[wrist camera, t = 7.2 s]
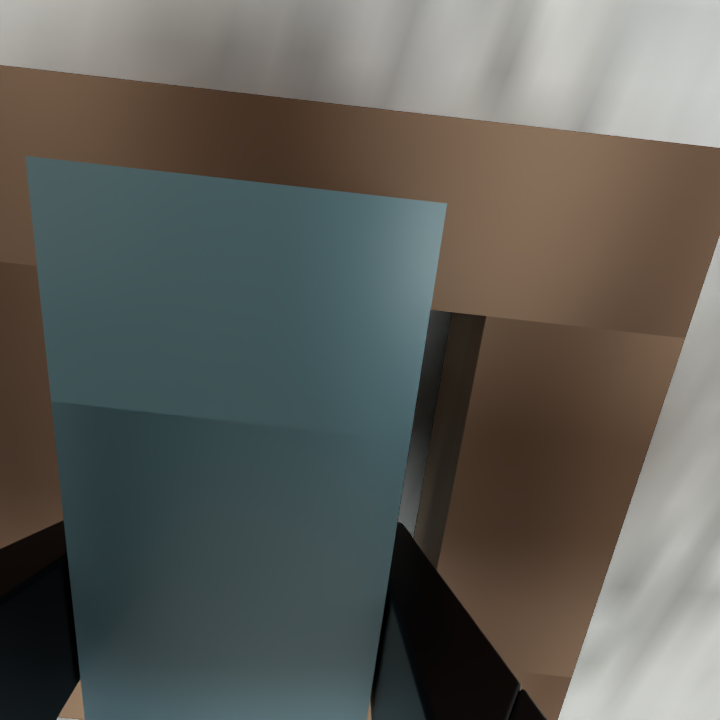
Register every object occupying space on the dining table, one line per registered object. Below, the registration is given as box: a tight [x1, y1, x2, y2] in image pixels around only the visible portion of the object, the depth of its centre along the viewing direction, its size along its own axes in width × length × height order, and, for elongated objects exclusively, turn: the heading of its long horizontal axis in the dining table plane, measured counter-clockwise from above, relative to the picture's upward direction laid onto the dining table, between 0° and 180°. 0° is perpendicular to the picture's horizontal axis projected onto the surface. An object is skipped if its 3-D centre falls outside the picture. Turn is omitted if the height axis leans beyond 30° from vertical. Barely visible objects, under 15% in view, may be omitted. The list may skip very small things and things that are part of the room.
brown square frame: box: [0, 65, 720, 720], centre depth 10 cm, size 14×14×3 cm
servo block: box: [25, 156, 447, 720], centre depth 7 cm, size 4×11×4 cm, turn 174°
